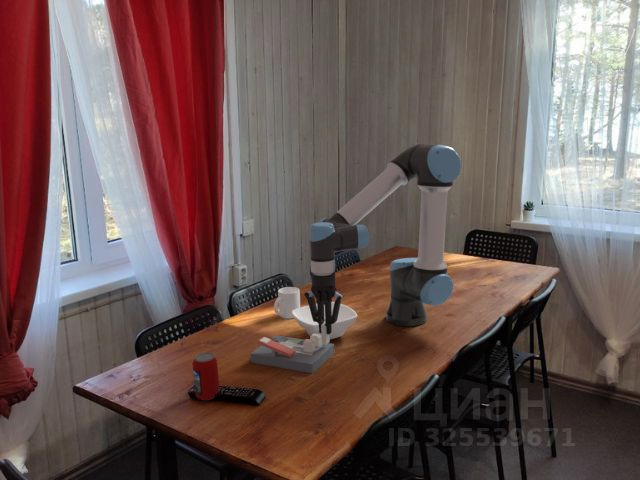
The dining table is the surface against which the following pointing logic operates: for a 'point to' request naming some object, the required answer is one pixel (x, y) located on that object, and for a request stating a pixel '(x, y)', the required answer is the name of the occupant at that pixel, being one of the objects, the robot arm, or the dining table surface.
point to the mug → (287, 302)
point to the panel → (298, 360)
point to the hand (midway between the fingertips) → (325, 342)
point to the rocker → (276, 346)
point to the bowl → (311, 327)
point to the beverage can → (205, 376)
